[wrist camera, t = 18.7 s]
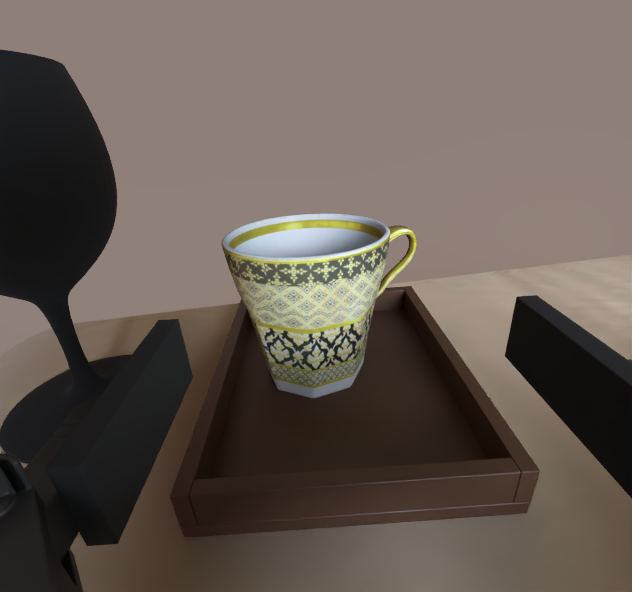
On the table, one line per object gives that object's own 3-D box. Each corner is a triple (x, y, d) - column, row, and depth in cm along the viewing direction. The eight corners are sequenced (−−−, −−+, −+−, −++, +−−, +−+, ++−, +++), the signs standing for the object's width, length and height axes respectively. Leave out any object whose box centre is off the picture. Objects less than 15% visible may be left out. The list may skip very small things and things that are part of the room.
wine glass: (46, 371, 28) (-89, 82, 20) (180, 349, 30) (109, 76, 22) (-42, 484, 19) (-361, 38, 11) (159, 443, 21) (22, 33, 13)
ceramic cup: (265, 439, 20) (238, 272, 16) (234, 349, 28) (211, 225, 24) (452, 376, 24) (472, 229, 20) (376, 314, 32) (378, 202, 28)
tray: (409, 312, 34) (411, 286, 33) (527, 513, 16) (540, 471, 15) (246, 323, 34) (241, 297, 33) (183, 538, 16) (168, 497, 15)
